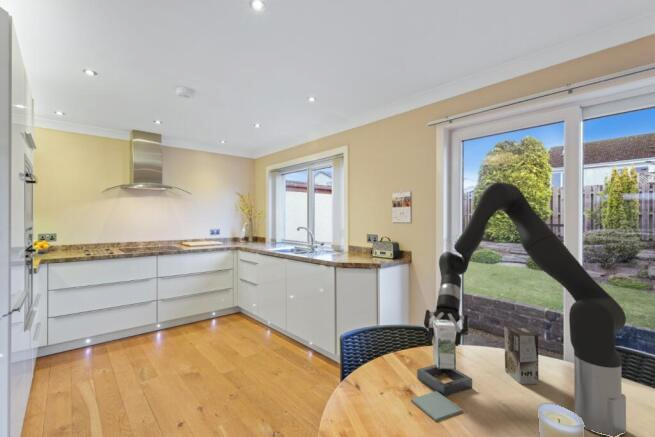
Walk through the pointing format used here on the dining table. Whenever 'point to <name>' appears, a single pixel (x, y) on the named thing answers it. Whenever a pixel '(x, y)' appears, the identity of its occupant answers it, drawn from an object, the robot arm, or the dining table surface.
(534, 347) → the coffee box
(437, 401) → the slate coaster
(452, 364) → the syrup box
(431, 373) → the socket block
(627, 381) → the dining table surface
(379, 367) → the dining table surface
